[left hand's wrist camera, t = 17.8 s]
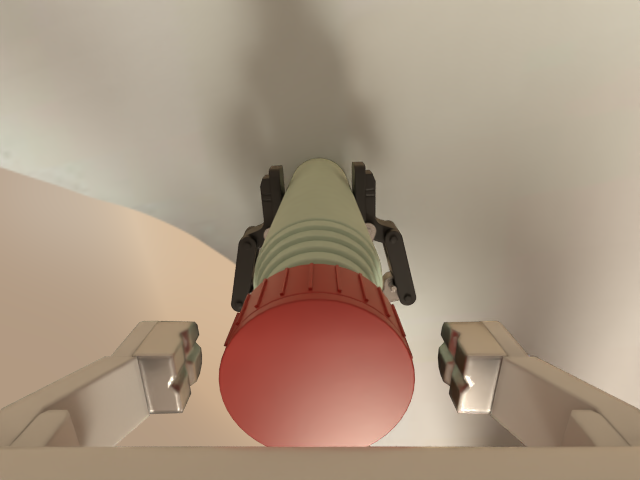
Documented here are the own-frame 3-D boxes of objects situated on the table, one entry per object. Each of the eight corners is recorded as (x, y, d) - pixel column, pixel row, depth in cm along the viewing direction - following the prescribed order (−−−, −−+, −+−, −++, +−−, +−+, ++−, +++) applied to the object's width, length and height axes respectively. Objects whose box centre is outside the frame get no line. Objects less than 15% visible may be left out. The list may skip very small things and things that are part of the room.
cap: (246, 405, 11) (232, 464, 9) (223, 265, 9) (200, 303, 8) (398, 398, 11) (414, 456, 9) (400, 255, 9) (420, 290, 7)
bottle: (322, 145, 29) (330, 238, 8) (359, 190, 31) (454, 380, 9) (279, 183, 31) (176, 359, 9) (315, 225, 32) (306, 471, 10)
